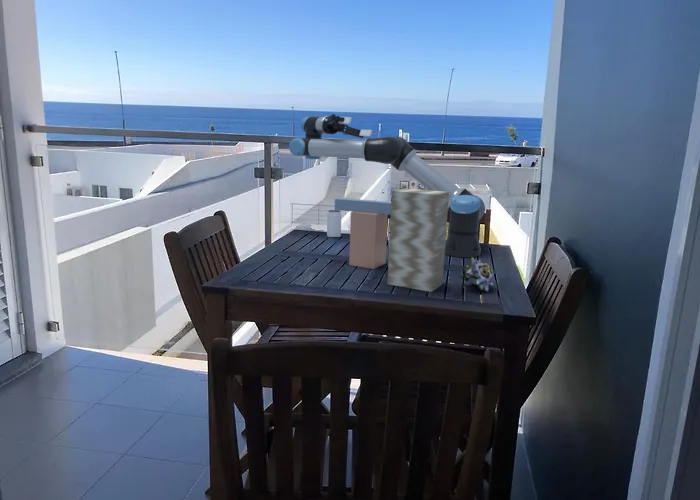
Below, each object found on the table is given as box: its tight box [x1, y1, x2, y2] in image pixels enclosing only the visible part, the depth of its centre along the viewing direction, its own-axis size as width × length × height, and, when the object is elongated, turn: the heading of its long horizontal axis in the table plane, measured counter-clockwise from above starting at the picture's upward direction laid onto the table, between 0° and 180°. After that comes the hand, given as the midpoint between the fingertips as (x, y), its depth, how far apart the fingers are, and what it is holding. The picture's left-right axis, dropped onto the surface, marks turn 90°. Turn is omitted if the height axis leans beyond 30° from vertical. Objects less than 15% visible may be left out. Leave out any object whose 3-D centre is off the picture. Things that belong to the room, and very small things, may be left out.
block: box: [348, 211, 389, 270], centre depth 191 cm, size 10×10×20 cm
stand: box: [387, 187, 449, 293], centre depth 166 cm, size 15×10×30 cm, turn 62°
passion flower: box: [459, 257, 495, 293], centre depth 167 cm, size 11×11×12 cm
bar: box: [334, 197, 391, 216], centre depth 188 cm, size 24×4×4 cm, turn 68°
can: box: [326, 209, 342, 238], centre depth 242 cm, size 6×6×12 cm
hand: (361, 127), depth 222 cm, fingers open, 13 cm apart
